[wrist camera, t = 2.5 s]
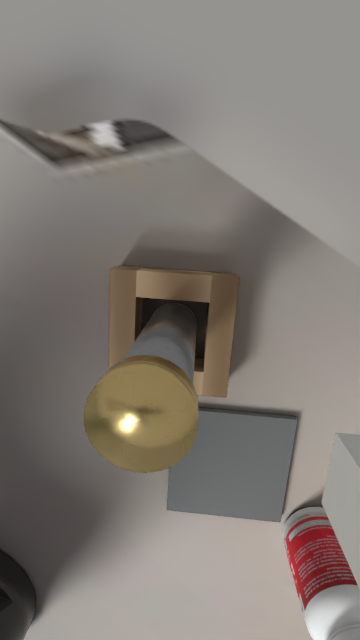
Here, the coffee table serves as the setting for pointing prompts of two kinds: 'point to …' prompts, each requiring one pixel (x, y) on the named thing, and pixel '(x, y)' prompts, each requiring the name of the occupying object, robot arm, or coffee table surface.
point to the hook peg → (149, 397)
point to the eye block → (185, 286)
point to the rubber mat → (235, 466)
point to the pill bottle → (322, 576)
